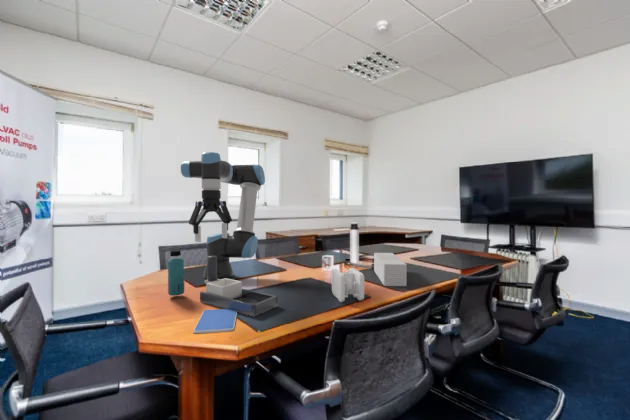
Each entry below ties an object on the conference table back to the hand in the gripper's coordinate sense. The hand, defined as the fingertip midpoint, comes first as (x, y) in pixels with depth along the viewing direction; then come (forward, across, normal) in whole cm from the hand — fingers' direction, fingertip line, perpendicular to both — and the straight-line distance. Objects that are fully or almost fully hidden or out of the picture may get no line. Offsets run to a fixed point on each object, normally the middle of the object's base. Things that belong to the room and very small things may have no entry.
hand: (211, 239), depth 129 cm
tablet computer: (+25, +15, +22) cm, 37 cm away
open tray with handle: (+23, 0, +5) cm, 24 cm away
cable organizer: (+25, -31, +49) cm, 63 cm away
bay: (+25, 0, +16) cm, 29 cm away
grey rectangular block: (+25, -73, +52) cm, 93 cm away
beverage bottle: (+25, +8, -13) cm, 29 cm away
